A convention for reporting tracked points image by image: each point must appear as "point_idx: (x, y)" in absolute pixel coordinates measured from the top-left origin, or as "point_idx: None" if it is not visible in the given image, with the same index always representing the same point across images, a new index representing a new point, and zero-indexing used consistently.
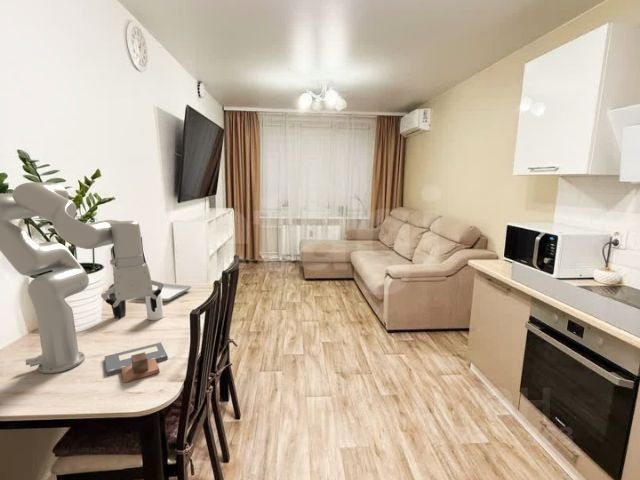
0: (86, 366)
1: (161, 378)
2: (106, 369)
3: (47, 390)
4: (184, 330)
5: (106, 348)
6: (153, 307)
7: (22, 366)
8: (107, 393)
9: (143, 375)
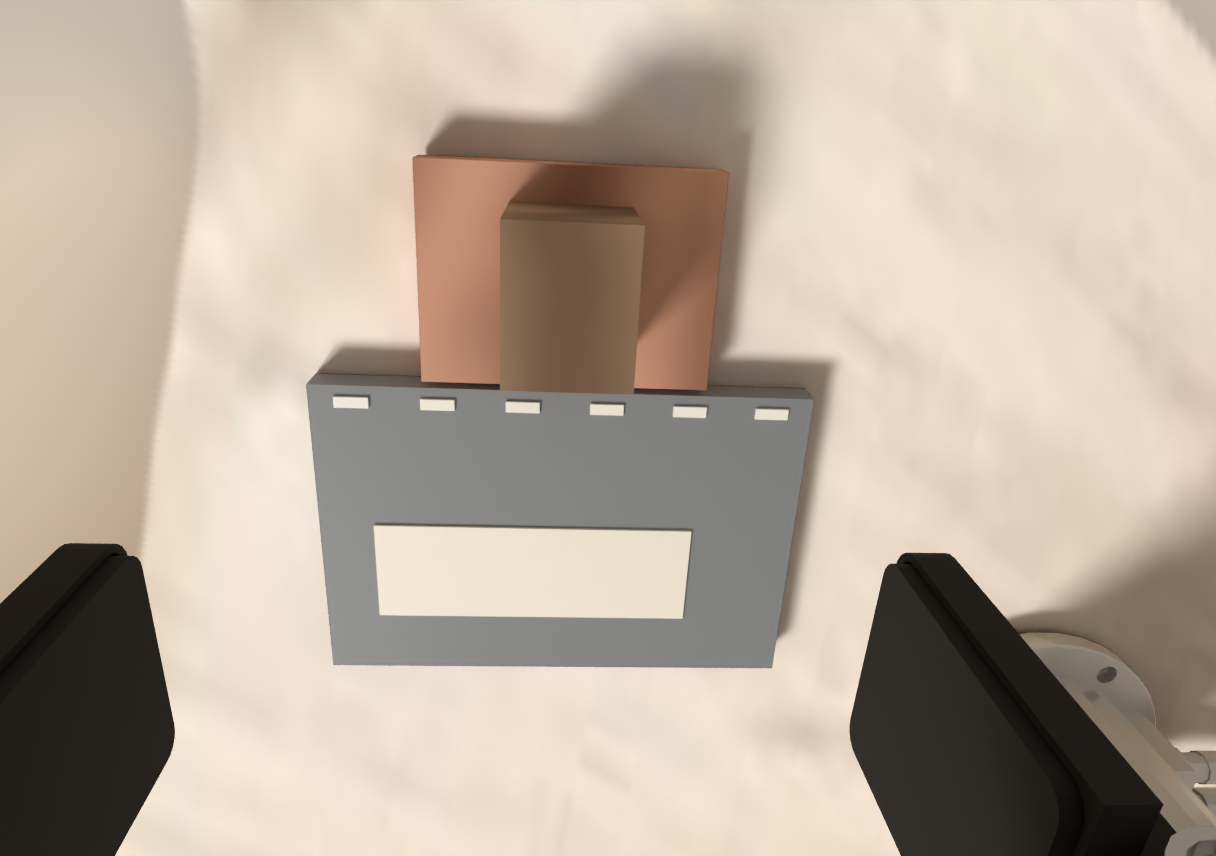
0: None
1: (419, 30)
2: (798, 467)
3: (1176, 427)
4: None
5: (721, 802)
6: (33, 610)
7: None
8: (869, 82)
9: (561, 162)
